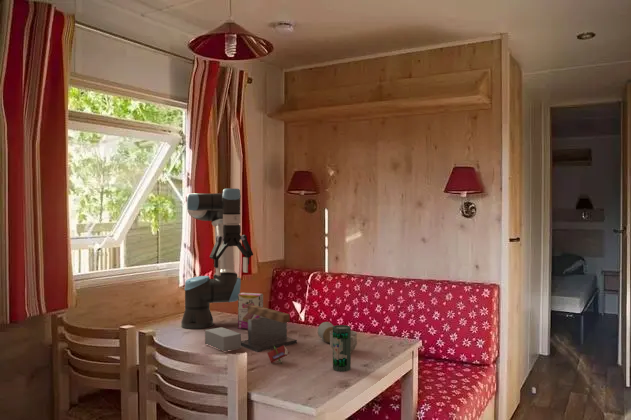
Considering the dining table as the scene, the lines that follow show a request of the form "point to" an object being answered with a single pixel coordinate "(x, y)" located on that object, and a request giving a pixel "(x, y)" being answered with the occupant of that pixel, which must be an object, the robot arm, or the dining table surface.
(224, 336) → the grey stand
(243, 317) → the candy bar box
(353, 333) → the teacup
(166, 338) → the dining table surface
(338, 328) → the can
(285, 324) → the metal ridge
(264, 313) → the walnut bar
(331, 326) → the ceramic mug
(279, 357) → the geometric puzzle
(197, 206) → the robot arm
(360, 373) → the dining table surface
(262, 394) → the dining table surface
